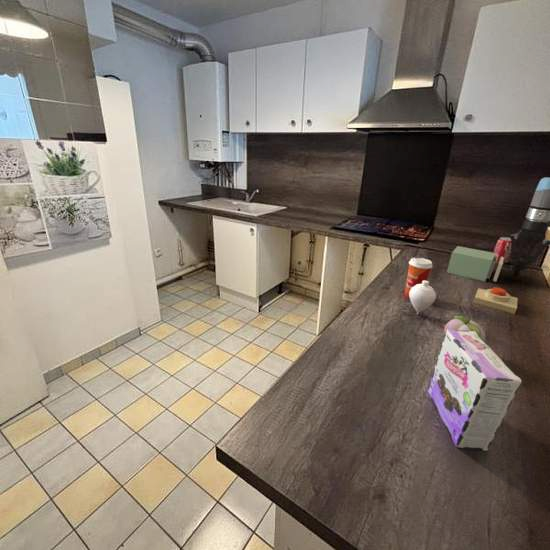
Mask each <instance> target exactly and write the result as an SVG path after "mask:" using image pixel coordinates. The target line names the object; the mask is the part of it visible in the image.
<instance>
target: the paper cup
mask: <svg viewBox="0 0 550 550" xmlns="http://www.w3.org/2000/svg"><path fill="white" fill-rule="evenodd" d="M433 267H434V266H433V262H432V261H431V260H430V259H427V258H423V257H411V258H410V260H409V261H408V270H407V276H406V282H405V290H404V296H405V297H406V298H407V299H410V297H409V292H410V290H411V288H412V287H414V286H415V285H417V284H422V281H424V280H425V281H428V278H429V275H430V272H431V270H432V268H433Z"/></svg>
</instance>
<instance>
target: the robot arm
mask: <svg viewBox="0 0 550 550" xmlns="http://www.w3.org/2000/svg"><path fill="white" fill-rule="evenodd" d="M534 190H535V191H534V194H533V196H532V199H531V202H530V204H529V207H528V210H527V212H526V215H525V219H524V220H523V223H522V226H521V228H520V230H519V231H518V232H516V233H513V234H510V235H509V238H510V239H511V241H512V242H511V256H510V259H511V260H513V261H514V262H513V264H512V266H513V269H514V272H513V273H512V278H514V279H518V277H519V275H520V273H521V271H525V270H526V269H525V268H526V266H527V264H534V263H535V261H536V260H537V259H538V258H539V256H540V255H541V254H542V253H543V251H544V250H545V249H546V248H547V247H548V246H550V239H549V238H547V235H546V234H547V231H548V228H549V227H550V177H542V178H541V179H540V180H539V182H538V184H537V186H536V189H534ZM518 238H519V240H520V242H521V244H520V246H519V249H518V252H517V254H516V240H518ZM540 242H541V244H540V246H539V247H538V249H536V251H535V252H534V254H533V255H532V253H533V250H534V247H535V245H538V243H540ZM528 244H529V246H528V248H527V251H526V253H525V256H524V258H523V261H522V260H521V258H522V256H523V252H524V250H525V247H526V245H528ZM531 255H532V256H531Z"/></svg>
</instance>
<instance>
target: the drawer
mask: <svg viewBox="0 0 550 550" xmlns="http://www.w3.org/2000/svg"><path fill="white" fill-rule="evenodd" d="M496 259H497V257H495V256H494V258H493V261H492V264H491V267H490V269H489V272H488V275H487V278H486V279H488V280H490V278H491V276H492V273H493V270H494V267H495V265H496V262H495V261H496ZM503 261H504V257H501V258H500V261H499V263H497V267H496V269H495V272H494V276H493V279H492V281H493V282H495V283H497V281H498V278H499V276H500V273H501V271H503V272H507V273H509V274H514V271H515V269H513V264H512V265H506V264H503ZM502 267H504V268H502ZM506 268H507V269H506Z"/></svg>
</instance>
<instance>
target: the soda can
mask: <svg viewBox="0 0 550 550" xmlns="http://www.w3.org/2000/svg"><path fill="white" fill-rule="evenodd" d="M511 242H512V241H511V239H510V237H505V236H501V237H499V239H498V240H497V242H496V244H495V247H494V250H493V252H492V253H495V255H494V256H495V257H497V259H496V261H495V264H496V263H497V264H499V261H500V258H501V257H504V261H503V265H505V264H508V263H509V261H510V259H511ZM504 263H505V264H504Z"/></svg>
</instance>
